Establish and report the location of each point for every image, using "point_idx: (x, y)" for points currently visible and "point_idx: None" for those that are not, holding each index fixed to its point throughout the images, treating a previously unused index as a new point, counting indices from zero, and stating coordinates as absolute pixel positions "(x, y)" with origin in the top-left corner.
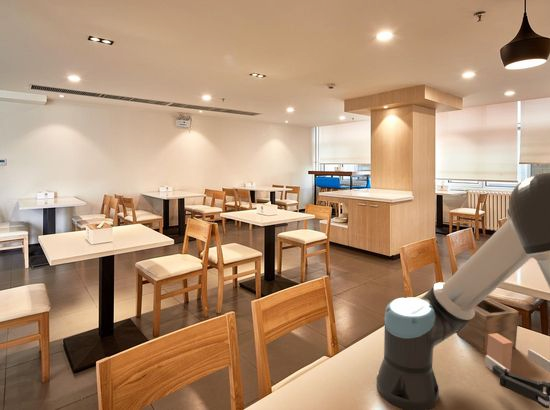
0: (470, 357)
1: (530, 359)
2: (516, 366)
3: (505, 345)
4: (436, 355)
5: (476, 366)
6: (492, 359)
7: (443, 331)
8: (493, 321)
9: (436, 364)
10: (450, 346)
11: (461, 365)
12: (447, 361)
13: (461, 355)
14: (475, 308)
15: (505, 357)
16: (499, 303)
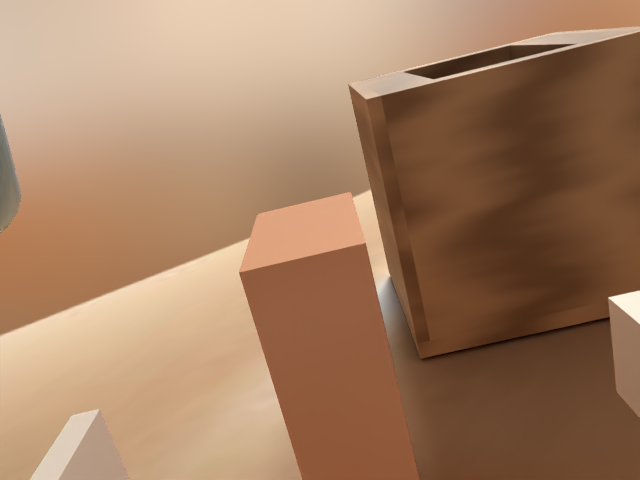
0: None
1: (634, 405)
2: (590, 451)
3: (274, 287)
4: (139, 400)
5: (274, 467)
6: (53, 462)
7: None
8: (450, 131)
9: None
10: None
11: (186, 464)
12: (143, 437)
13: None
14: (379, 84)
15: (324, 410)
16: (581, 32)
